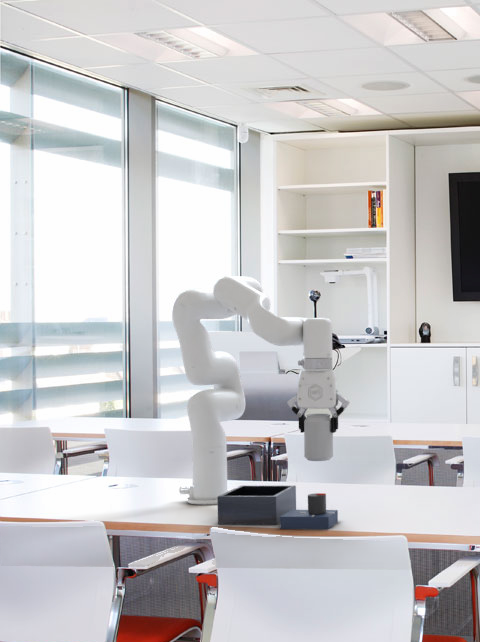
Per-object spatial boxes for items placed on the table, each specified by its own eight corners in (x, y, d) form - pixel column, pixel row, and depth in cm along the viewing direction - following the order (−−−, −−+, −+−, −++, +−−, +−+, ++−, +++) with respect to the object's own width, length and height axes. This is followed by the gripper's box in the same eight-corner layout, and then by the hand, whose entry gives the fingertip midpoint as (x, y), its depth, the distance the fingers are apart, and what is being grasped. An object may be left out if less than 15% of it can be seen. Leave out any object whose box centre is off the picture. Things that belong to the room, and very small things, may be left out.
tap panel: (280, 529, 240) (279, 515, 240) (291, 521, 249) (290, 509, 249) (329, 529, 239) (329, 516, 239) (339, 521, 248) (338, 509, 247)
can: (338, 458, 263) (337, 413, 263) (325, 462, 256) (324, 415, 256) (312, 457, 265) (312, 412, 265) (299, 460, 258) (298, 414, 258)
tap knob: (305, 514, 242) (305, 495, 241) (310, 511, 246) (310, 492, 246) (323, 514, 241) (323, 495, 241) (328, 511, 245) (327, 492, 245)
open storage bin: (217, 524, 247) (217, 496, 247) (241, 511, 264) (240, 485, 264) (276, 524, 245) (275, 496, 245) (296, 511, 262) (295, 485, 262)
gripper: (281, 365, 257) (282, 433, 258) (347, 365, 255) (347, 434, 256) (289, 364, 265) (290, 430, 265) (353, 364, 263) (354, 430, 263)
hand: (318, 431), depth 261 cm, fingers closed on can, 7 cm apart
